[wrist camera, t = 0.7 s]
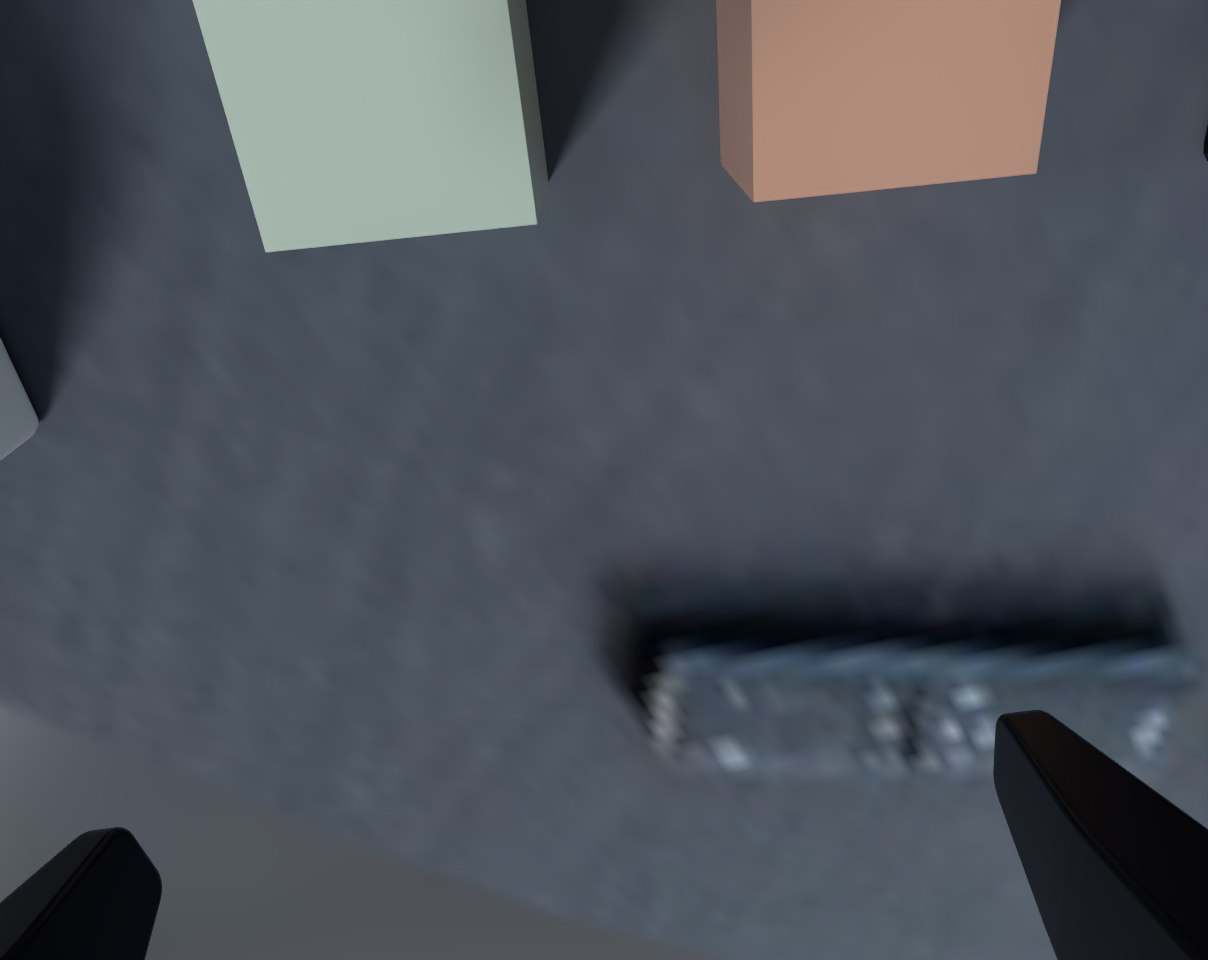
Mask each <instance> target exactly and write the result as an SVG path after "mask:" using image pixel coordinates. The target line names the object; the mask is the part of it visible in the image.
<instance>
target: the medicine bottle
mask: <svg viewBox="0 0 1208 960" xmlns="http://www.w3.org/2000/svg"><path fill="white" fill-rule="evenodd" d="M38 426H39V422H38V418H37V415H36V413H35V411H34V409H33V407H32V405H31V403H30V400H29V398H28V396H27V394H26V392H25V390H24V388H23V385H22V383H21V381H20V379H19V377H18V375H17V372H16V370H15V368H14V366H13V364H12V362H11V360H10V357H9V355H8V353H7V351H6V349H5V347H4V345H3V342H2V340H1V338H0V460H1V459H3V458H4V457H5V456H7V455H8V454H9V453H11V452H12V451H13V450H14V449H16V448H17V447H18V446H20V445H21V444H22V443H24V442H25V441H26V440H28V439H29V438H30V437H31V436H33V435H34V433H35V431H36V429H37V427H38Z"/></svg>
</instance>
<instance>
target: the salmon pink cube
mask: <svg viewBox="0 0 1208 960" xmlns="http://www.w3.org/2000/svg"><path fill="white" fill-rule="evenodd" d="M1060 4H1061V0H716V8H717V43H718V79H719V114H720V149H721V165H722V166H723V167H724V168H725V169H726V171H727V172H728V173H729V174H730V175H731V176H732V178H733V179H734V180H735V181H736V182H737V183H738V185H739V186H740V187H741V188H742V189H743V191H744V192H745V193H746V194H747V195H748V196H749V198H750V199H751V200H752V201H753V202H763V201H772V200H782V199H792V198H802V197H811V196H821V195H831V194H841V193H851V192H860V191H870V190H880V189H890V188H899V187H909V186H919V185H929V184H938V183H948V182H958V181H968V180H977V179H987V178H997V177H1007V176H1017V175H1026V174H1036V172H1037V165H1038V158H1039V151H1040V144H1041V137H1042V130H1043V123H1044V116H1045V109H1046V102H1047V95H1048V88H1049V81H1050V74H1051V67H1052V60H1053V53H1054V46H1055V39H1056V32H1057V25H1058V18H1059V11H1060Z"/></svg>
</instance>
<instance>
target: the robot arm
mask: <svg viewBox="0 0 1208 960" xmlns="http://www.w3.org/2000/svg"><path fill="white" fill-rule="evenodd" d="M1204 155H1205V157H1206V159H1207V161H1208V128H1207V132H1206V136H1205V141H1204ZM993 775H994V783H995V788H996V792H997V796H998V799H999V802H1000V804H1001V807H1002V810H1003V813H1004V815H1005V818H1006V821H1007V824H1008V826H1009V829H1010V832H1011V835H1012V837H1013V840H1014V843H1015V846H1016V848H1017V851H1018V854H1019V857H1020V859H1021V862H1022V865H1023V868H1024V871H1025V873H1026V876H1027V879H1028V882H1029V884H1030V887H1031V890H1032V893H1033V895H1034V898H1035V901H1036V904H1037V906H1038V909H1039V912H1040V915H1041V917H1042V920H1043V923H1044V926H1045V929H1046V931H1047V934H1048V936H1049V939H1050V942H1051V944H1052V947H1053V949H1054V952H1055V955H1056V957H1057V959H1058V960H1208V829H1207V828H1206V827H1204V826H1203V825H1201V824H1200V823H1199V822H1197V821H1196V820H1195V819H1193V818H1192V817H1190V816H1189V815H1188V814H1186V813H1185V812H1184V811H1182V810H1181V809H1179V808H1178V807H1177V806H1175V805H1174V804H1173V803H1171V802H1170V801H1169V800H1167V799H1166V798H1164V797H1163V796H1162V795H1160V794H1159V793H1158V792H1156V791H1155V790H1153V789H1152V788H1151V787H1149V786H1148V785H1147V784H1145V783H1144V782H1142V781H1141V780H1140V779H1138V778H1137V777H1136V776H1134V775H1133V774H1131V773H1130V772H1129V771H1127V770H1126V769H1125V768H1123V767H1122V766H1120V765H1119V764H1118V763H1116V762H1115V761H1114V760H1112V759H1111V758H1109V757H1108V756H1107V755H1105V754H1104V753H1103V752H1101V751H1100V750H1099V749H1097V748H1096V747H1094V746H1093V745H1092V744H1090V743H1089V742H1088V741H1086V740H1085V739H1083V738H1082V737H1081V736H1079V735H1078V734H1077V733H1075V732H1074V731H1072V730H1071V729H1070V728H1068V727H1067V726H1066V725H1064V724H1063V723H1061V722H1060V721H1059V720H1057V719H1056V718H1055V717H1053V716H1052V715H1050V714H1049V713H1046V712H1044V711H1041V710H1031V711H1023V712H1015V713H1007V714H1003V715H1001V716H1000V717H999V718H998V720H997V723H996V732H995V751H994V769H993ZM161 894H162V883H161V877H160V874H159V872H158V870H157V869H156V868H155V866H154V865H153V863H152V862H151V860H150V859H149V857H148V856H147V855H146V853H145V852H144V850H143V849H142V847H141V846H140V844H139V843H138V841H137V840H136V839H135V837H134V836H133V834H131V832H130V831H128V830H127V829H125V828H121V827H115V828H107V829H100V830H93V831H89V832H86V833H83V834H81V835H80V836H78V837H77V838H76V839H74V840H73V841H72V842H71V843H70V844H69V845H67V847H65V848H64V849H63V850H62V851H60V852H59V853H58V854H57V855H56V856H54V857H53V858H52V859H51V860H50V861H49V862H47V863H46V864H45V865H44V866H43V867H42V868H40V869H39V870H38V871H37V872H36V873H35V874H33V875H32V876H31V877H30V878H29V879H28V880H26V881H25V882H24V883H23V884H22V885H20V886H19V887H18V888H17V889H16V890H14V892H12V893H11V894H10V895H9V896H7V897H6V898H5V899H4V900H3V901H2V902H0V960H145V957H146V953H147V949H148V945H149V942H150V938H151V934H152V930H153V927H154V923H155V919H156V915H157V911H158V907H159V904H160V900H161Z"/></svg>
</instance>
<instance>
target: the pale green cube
mask: <svg viewBox="0 0 1208 960" xmlns="http://www.w3.org/2000/svg"><path fill="white" fill-rule="evenodd" d="M193 3H194V7H195V10H196V14H197V17H198V21H199V24H200V28H201V31H202V34H203V38H204V41H205V45H206V48H207V52H208V55H209V59H210V62H211V65H212V69H213V72H214V76H215V79H216V83H217V86H218V89H219V93H220V96H221V100H222V103H223V107H224V110H225V114H226V117H227V120H228V124H229V127H230V131H231V134H232V138H233V141H234V145H235V148H236V151H237V155H238V158H239V162H240V165H241V169H242V172H243V176H244V179H245V182H246V186H247V189H248V193H249V196H250V200H251V203H252V207H253V210H254V213H255V217H256V220H257V224H258V227H259V231H260V234H261V238H262V241H263V244H264V248H265V251H266V252H274V251H284V250H293V249H303V248H312V247H322V246H332V245H341V244H351V243H361V242H370V241H380V240H389V239H399V238H409V237H418V236H428V235H437V234H447V233H457V232H466V231H476V230H486V229H495V228H505V227H514V226H524V225H534V224H537V223H538V219H539V215H540V212H541V208H542V204H543V200H544V197H545V193H546V189H547V185H548V174H547V166H546V158H545V150H544V142H543V134H542V126H541V118H540V110H539V102H538V94H537V86H536V78H535V70H534V62H533V54H532V46H531V38H530V30H529V22H528V15H527V7H526V0H193Z"/></svg>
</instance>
